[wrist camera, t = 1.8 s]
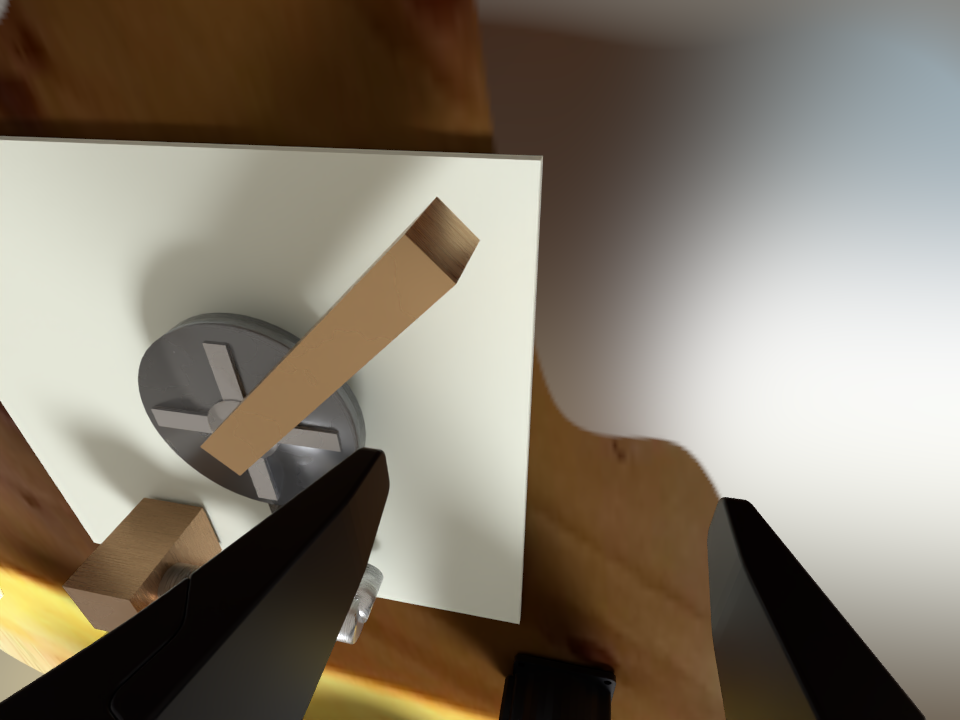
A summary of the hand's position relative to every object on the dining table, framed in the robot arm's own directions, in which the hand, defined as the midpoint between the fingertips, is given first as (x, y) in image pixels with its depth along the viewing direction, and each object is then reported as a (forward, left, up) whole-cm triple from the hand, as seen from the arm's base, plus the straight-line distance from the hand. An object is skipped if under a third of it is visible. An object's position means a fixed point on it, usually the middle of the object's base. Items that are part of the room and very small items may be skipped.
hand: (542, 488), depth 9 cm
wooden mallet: (+17, +20, -11) cm, 28 cm away
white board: (+16, +11, -12) cm, 23 cm away
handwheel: (+11, +6, -10) cm, 16 cm away
